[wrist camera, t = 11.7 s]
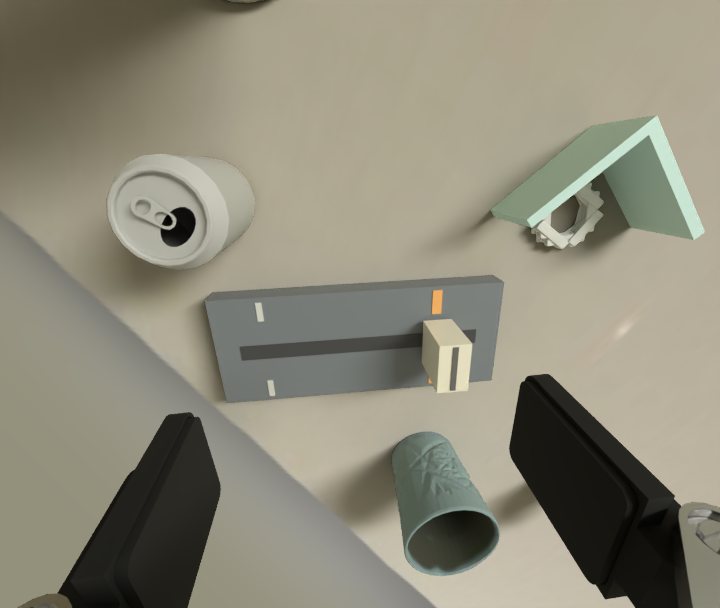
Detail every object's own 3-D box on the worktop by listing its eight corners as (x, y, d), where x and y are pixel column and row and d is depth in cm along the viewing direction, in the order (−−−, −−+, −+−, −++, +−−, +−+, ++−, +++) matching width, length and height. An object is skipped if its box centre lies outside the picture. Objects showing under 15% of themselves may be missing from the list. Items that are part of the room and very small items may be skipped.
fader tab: (423, 320, 36) (440, 347, 30) (451, 318, 36) (472, 344, 31) (421, 362, 37) (437, 393, 32) (448, 360, 38) (468, 391, 32)
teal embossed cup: (384, 484, 48) (402, 580, 37) (387, 427, 44) (407, 514, 33) (454, 479, 49) (492, 571, 38) (463, 422, 45) (508, 506, 34)
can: (229, 255, 34) (183, 298, 23) (158, 206, 32) (69, 228, 21) (272, 195, 32) (245, 209, 21) (200, 138, 30) (129, 122, 19)
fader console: (212, 292, 35) (204, 301, 33) (493, 275, 38) (504, 282, 35) (232, 389, 40) (226, 403, 37) (482, 368, 42) (491, 380, 40)
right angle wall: (487, 209, 36) (526, 219, 29) (588, 126, 33) (657, 115, 27) (541, 290, 40) (587, 316, 33) (634, 220, 38) (704, 232, 31)
